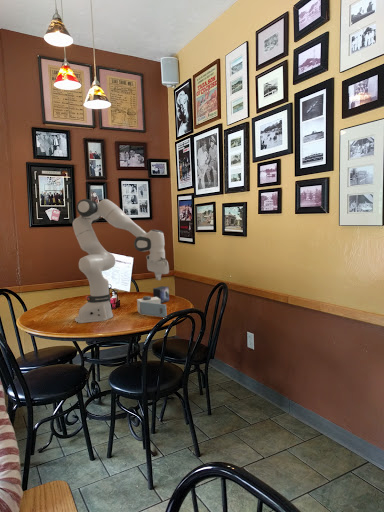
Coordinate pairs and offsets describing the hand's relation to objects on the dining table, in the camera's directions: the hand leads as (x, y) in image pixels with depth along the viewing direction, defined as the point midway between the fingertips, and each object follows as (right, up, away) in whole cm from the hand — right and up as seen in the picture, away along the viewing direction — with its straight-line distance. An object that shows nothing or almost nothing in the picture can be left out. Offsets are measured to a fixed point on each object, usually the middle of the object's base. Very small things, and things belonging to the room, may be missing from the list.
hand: (158, 279), depth 213 cm
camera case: (-7, -21, +13) cm, 26 cm away
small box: (-1, -19, +38) cm, 42 cm away
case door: (-3, -22, 0) cm, 22 cm away
